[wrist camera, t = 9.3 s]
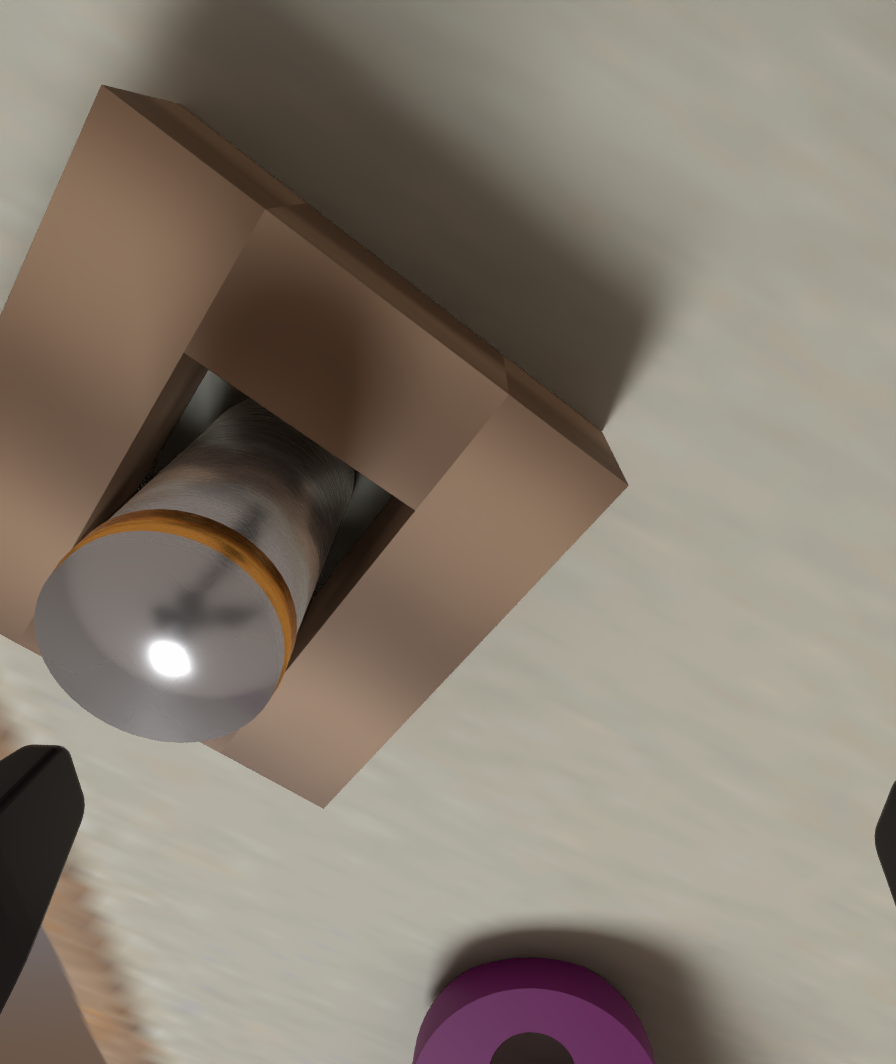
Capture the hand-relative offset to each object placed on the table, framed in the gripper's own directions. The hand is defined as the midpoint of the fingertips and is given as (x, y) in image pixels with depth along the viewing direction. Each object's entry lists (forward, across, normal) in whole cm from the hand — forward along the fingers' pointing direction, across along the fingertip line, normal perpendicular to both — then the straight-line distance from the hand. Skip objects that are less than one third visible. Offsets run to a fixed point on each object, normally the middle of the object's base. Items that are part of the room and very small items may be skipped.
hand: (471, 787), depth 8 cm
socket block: (+12, +5, +1) cm, 13 cm away
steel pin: (+12, +5, +1) cm, 13 cm away
